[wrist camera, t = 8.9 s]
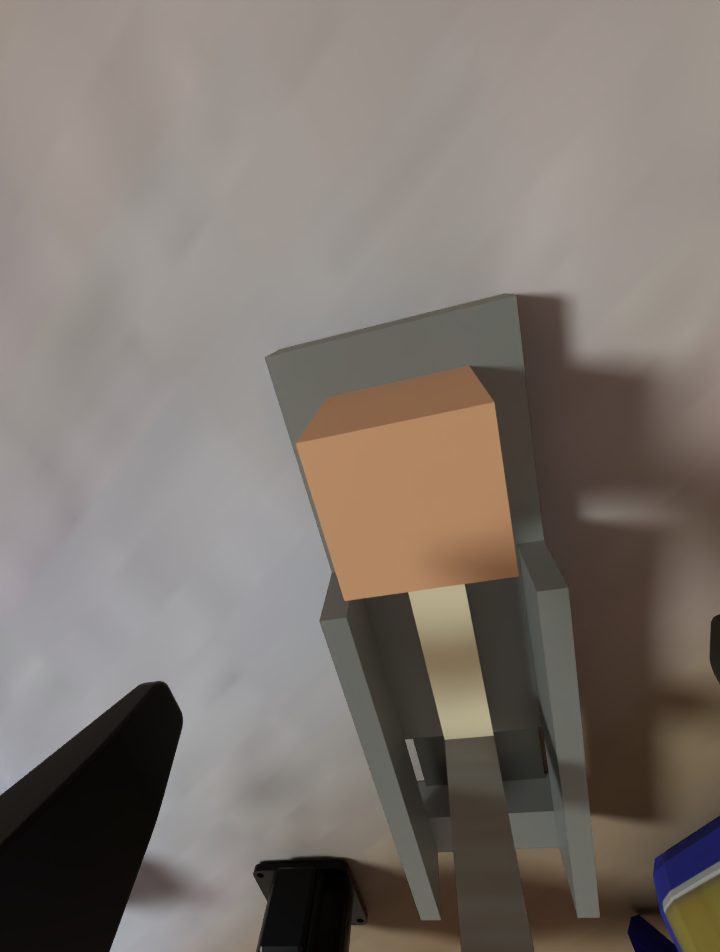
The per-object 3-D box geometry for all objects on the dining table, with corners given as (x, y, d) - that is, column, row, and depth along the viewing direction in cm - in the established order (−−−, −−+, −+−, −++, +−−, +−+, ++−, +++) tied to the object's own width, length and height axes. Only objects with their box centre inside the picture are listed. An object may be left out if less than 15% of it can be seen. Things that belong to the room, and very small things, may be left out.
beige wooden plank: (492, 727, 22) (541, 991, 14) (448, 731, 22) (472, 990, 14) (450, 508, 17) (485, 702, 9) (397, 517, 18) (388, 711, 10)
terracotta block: (489, 497, 17) (519, 576, 13) (360, 520, 18) (344, 600, 14) (469, 365, 16) (494, 402, 11) (326, 397, 17) (295, 443, 12)
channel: (567, 807, 27) (599, 917, 22) (418, 815, 28) (421, 920, 23) (504, 293, 17) (541, 300, 12) (279, 349, 18) (235, 373, 13)
